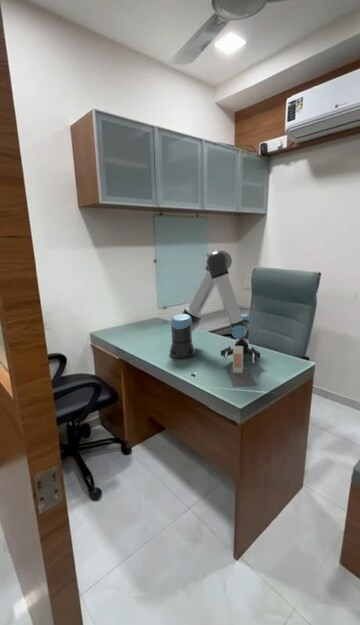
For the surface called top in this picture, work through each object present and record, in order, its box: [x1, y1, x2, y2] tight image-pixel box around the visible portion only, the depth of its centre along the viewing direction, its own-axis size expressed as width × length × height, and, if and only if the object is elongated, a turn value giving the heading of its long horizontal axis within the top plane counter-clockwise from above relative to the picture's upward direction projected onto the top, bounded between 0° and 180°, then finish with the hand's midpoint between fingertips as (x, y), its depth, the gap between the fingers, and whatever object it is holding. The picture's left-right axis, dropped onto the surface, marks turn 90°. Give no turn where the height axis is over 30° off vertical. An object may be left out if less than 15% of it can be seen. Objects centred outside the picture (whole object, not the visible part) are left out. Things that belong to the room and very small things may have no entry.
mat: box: [225, 366, 258, 388], centre depth 148 cm, size 22×11×1 cm, turn 0°
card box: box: [232, 345, 244, 373], centre depth 153 cm, size 6×4×12 cm
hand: (239, 359), depth 152 cm, fingers open, 13 cm apart
